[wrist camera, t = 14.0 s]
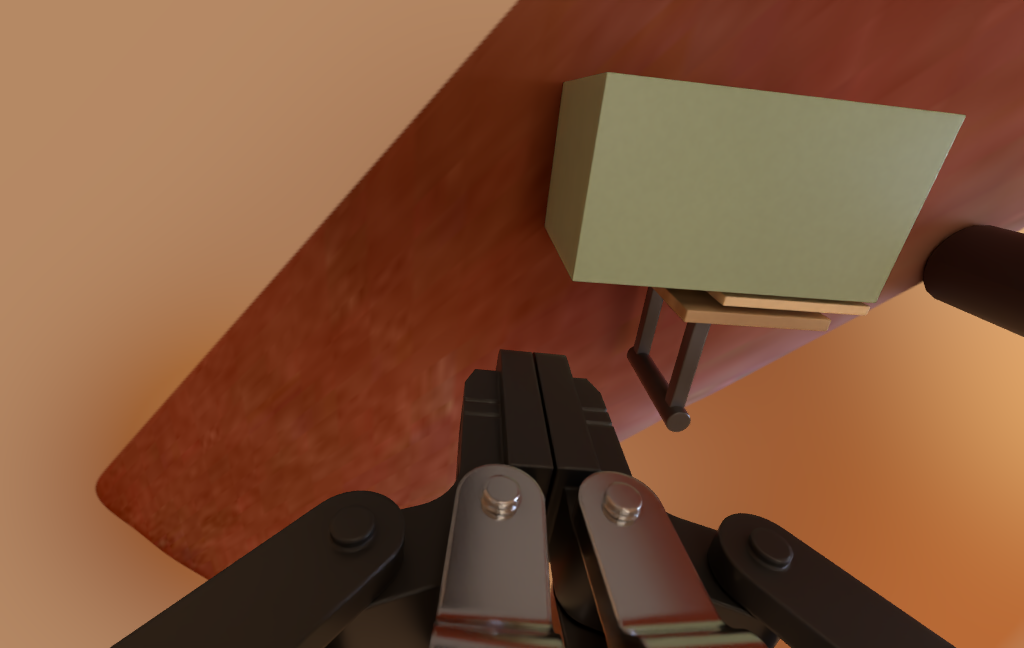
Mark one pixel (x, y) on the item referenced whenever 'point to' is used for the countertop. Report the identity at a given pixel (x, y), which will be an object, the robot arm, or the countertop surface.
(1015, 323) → the bottle
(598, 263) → the cabinet
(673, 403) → the brown panel dark handle
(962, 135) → the countertop surface
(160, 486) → the countertop surface
